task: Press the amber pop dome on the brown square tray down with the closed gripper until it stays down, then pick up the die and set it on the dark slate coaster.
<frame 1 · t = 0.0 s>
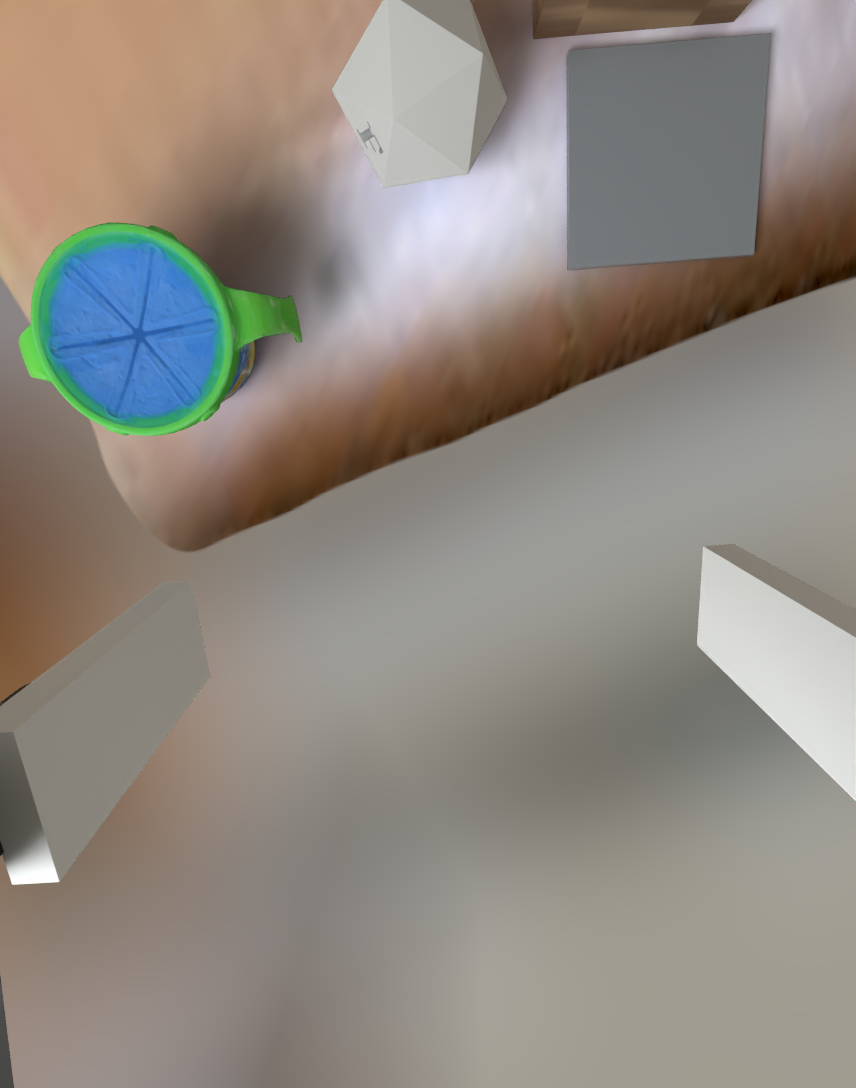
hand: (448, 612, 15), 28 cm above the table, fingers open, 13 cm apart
coaster: (661, 160, 36), on the table
snack cup: (205, 346, 40), on the table
die: (422, 126, 36), on the table
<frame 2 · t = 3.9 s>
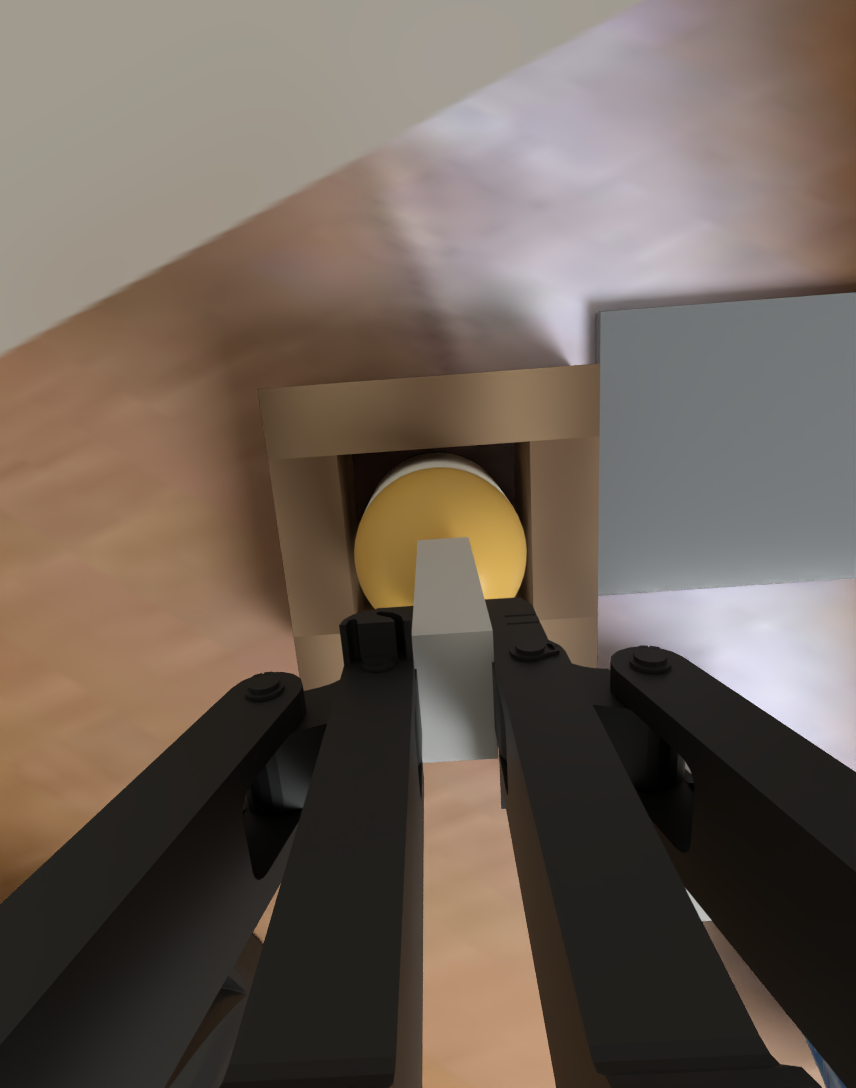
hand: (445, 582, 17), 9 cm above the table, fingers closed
brown square tray: (437, 517, 26), on the table
coaster: (734, 451, 25), on the table
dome: (439, 547, 21), point 5 cm above the table, slide at 1.7 cm
snack cup: (848, 976, 33), on the table
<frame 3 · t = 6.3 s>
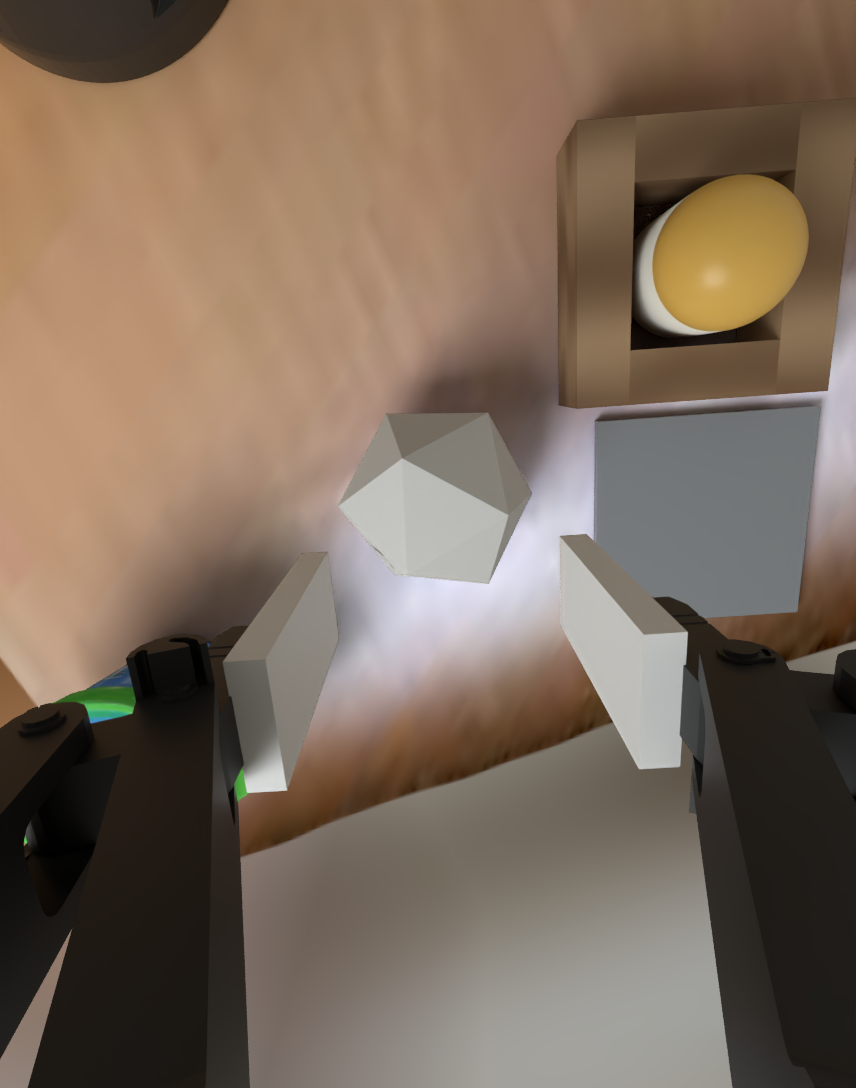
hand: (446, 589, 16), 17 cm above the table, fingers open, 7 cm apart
brown square tray: (673, 278, 30), on the table
coaster: (697, 518, 33), on the table
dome: (717, 260, 25), point 5 cm above the table, slide at 1.8 cm
snack cup: (198, 688, 37), on the table
die: (436, 485, 33), on the table
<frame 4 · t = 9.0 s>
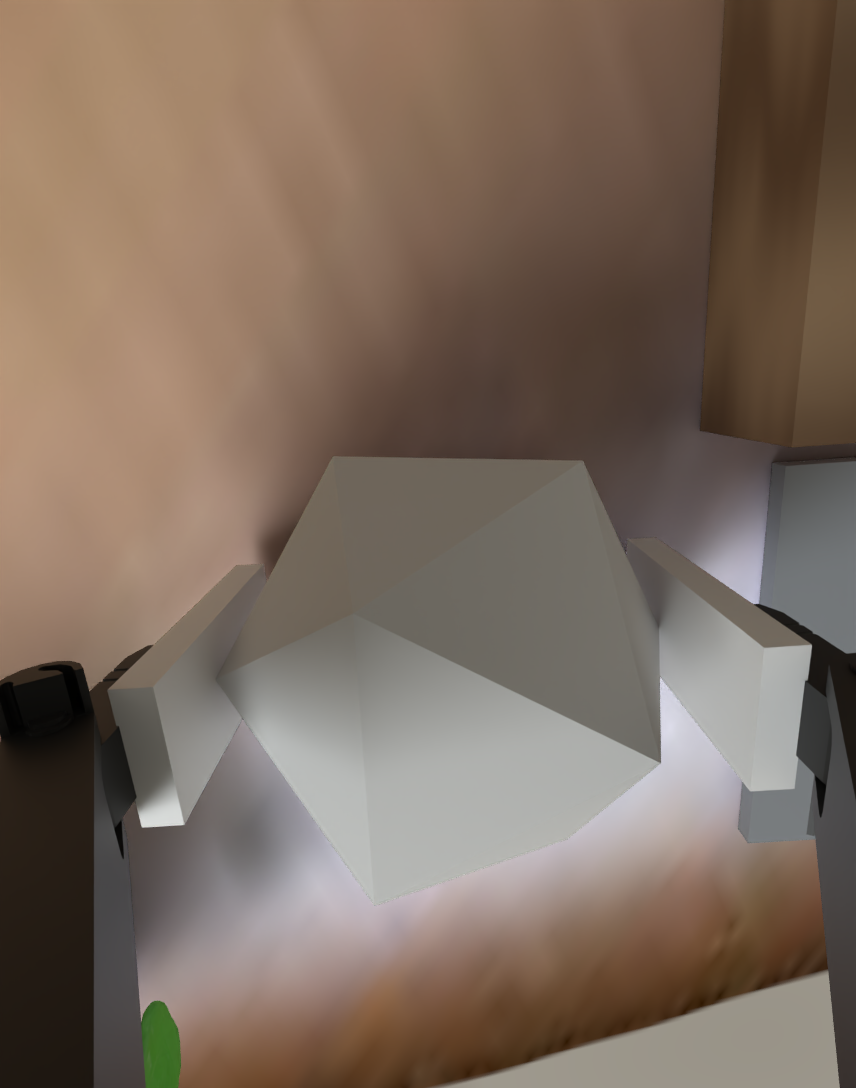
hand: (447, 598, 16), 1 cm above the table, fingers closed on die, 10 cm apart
snack cup: (15, 935, 20), on the table
die: (446, 586, 17), on the table, touching gripper
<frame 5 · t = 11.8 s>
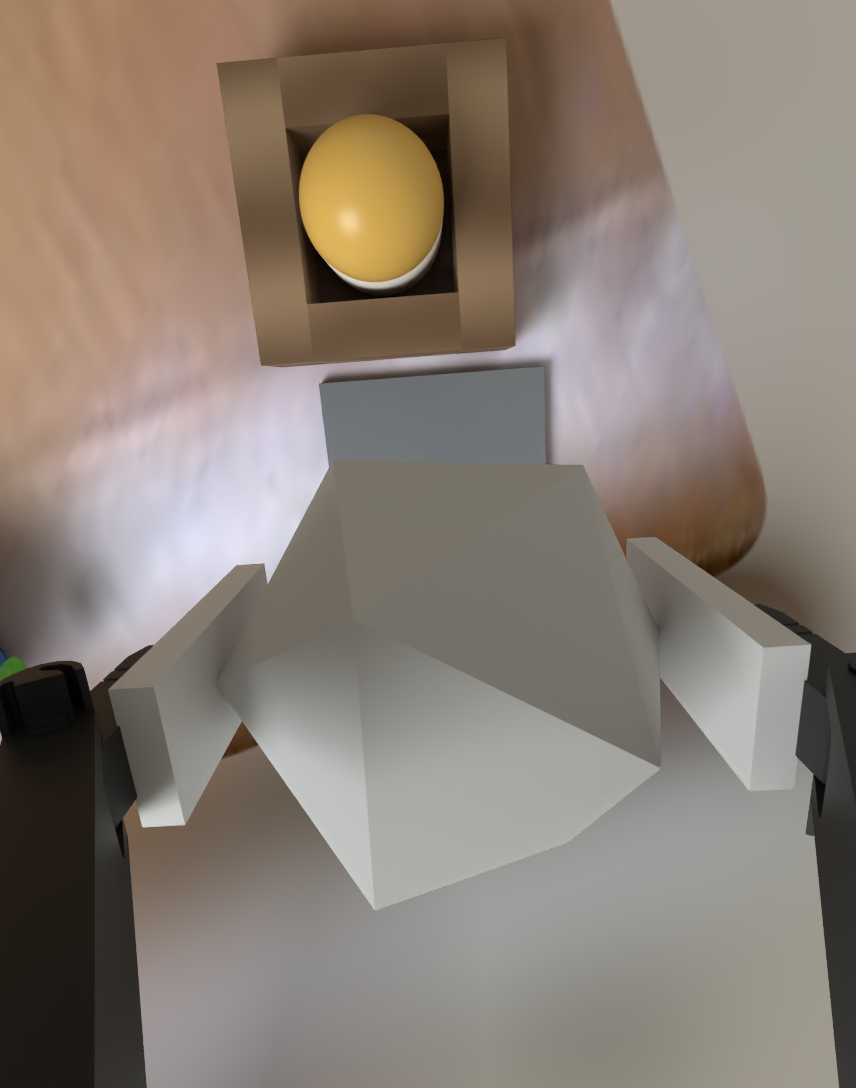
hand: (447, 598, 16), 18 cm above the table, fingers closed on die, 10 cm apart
brown square tray: (382, 234, 29), on the table
coaster: (438, 484, 33), on the table
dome: (373, 208, 25), point 5 cm above the table, slide at 1.8 cm
die: (446, 588, 17), point 17 cm above the table, touching gripper
when the fingers open (3 cm above the table, at t = 15.0 s): die drops 2 cm, resting on coaster.
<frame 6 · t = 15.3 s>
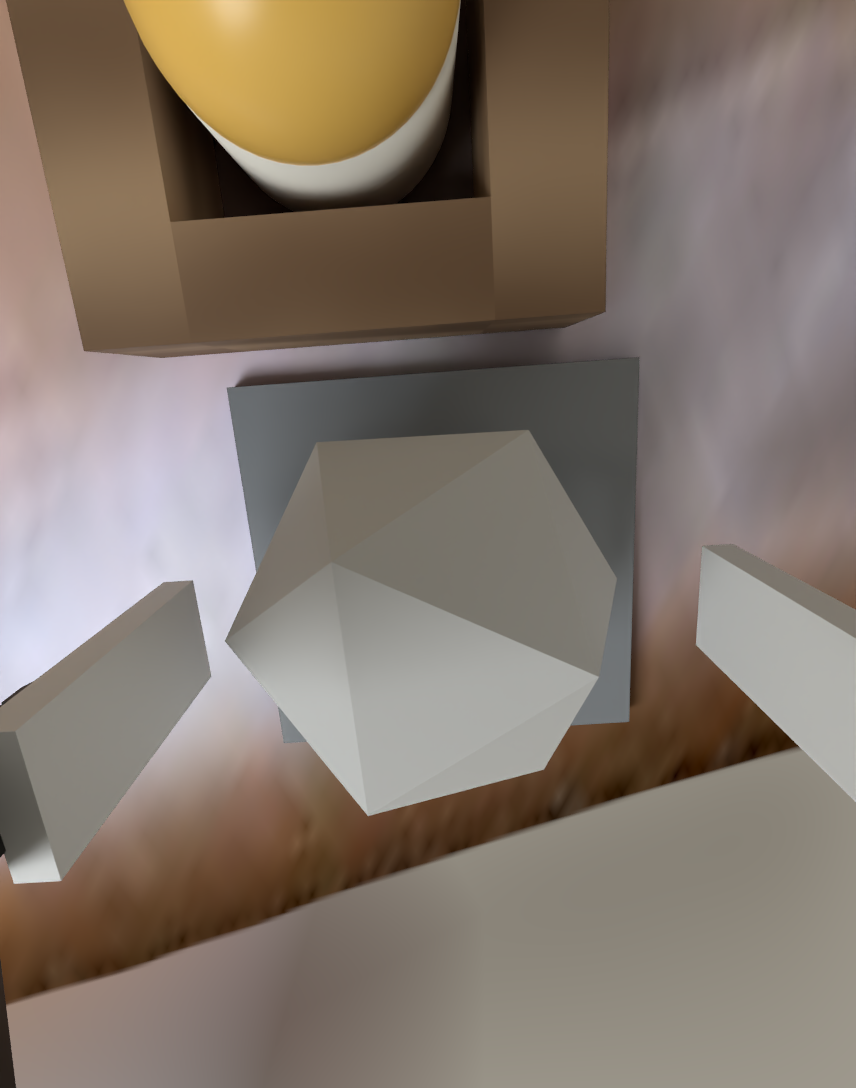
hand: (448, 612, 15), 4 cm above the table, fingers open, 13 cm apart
brown square tray: (338, 106, 15), on the table
coaster: (444, 562, 19), on the table
die: (430, 558, 18), resting on coaster
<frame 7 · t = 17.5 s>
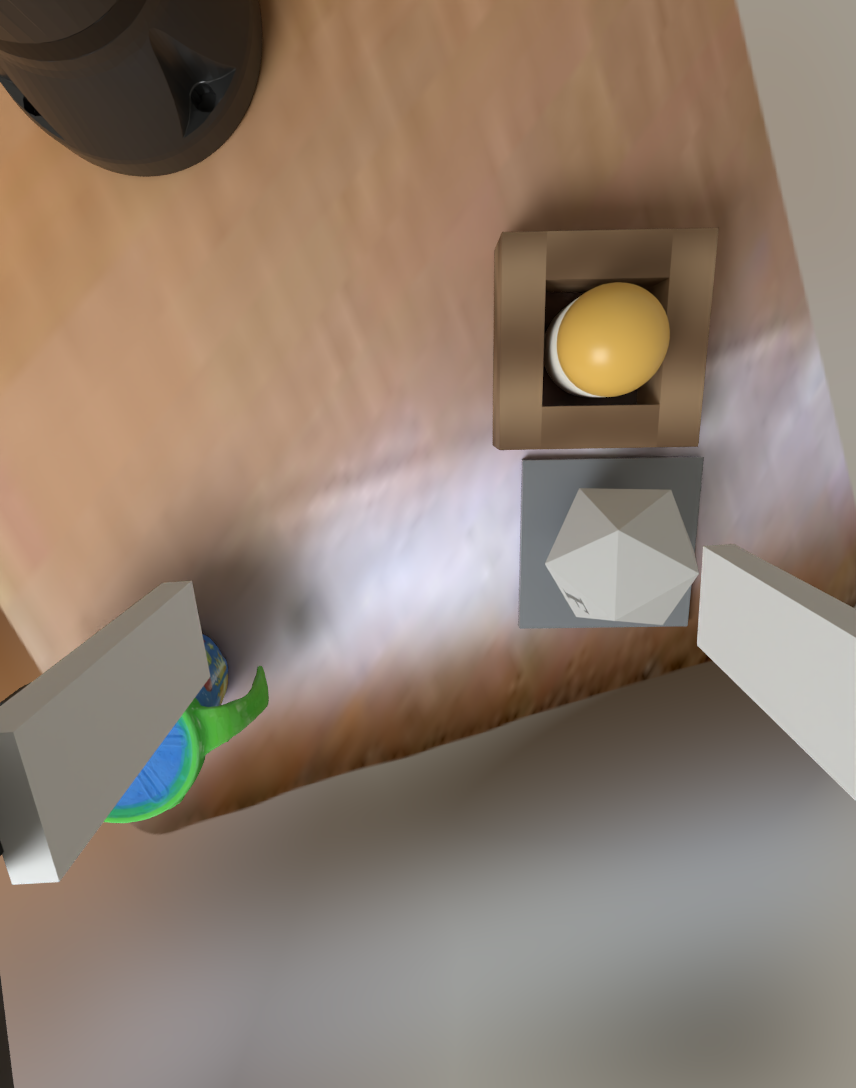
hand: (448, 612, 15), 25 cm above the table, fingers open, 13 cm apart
brown square tray: (586, 349, 37), on the table
coaster: (605, 544, 40), on the table
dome: (607, 342, 33), point 5 cm above the table, slide at 1.8 cm
snack cup: (182, 666, 43), on the table
die: (601, 541, 40), resting on coaster
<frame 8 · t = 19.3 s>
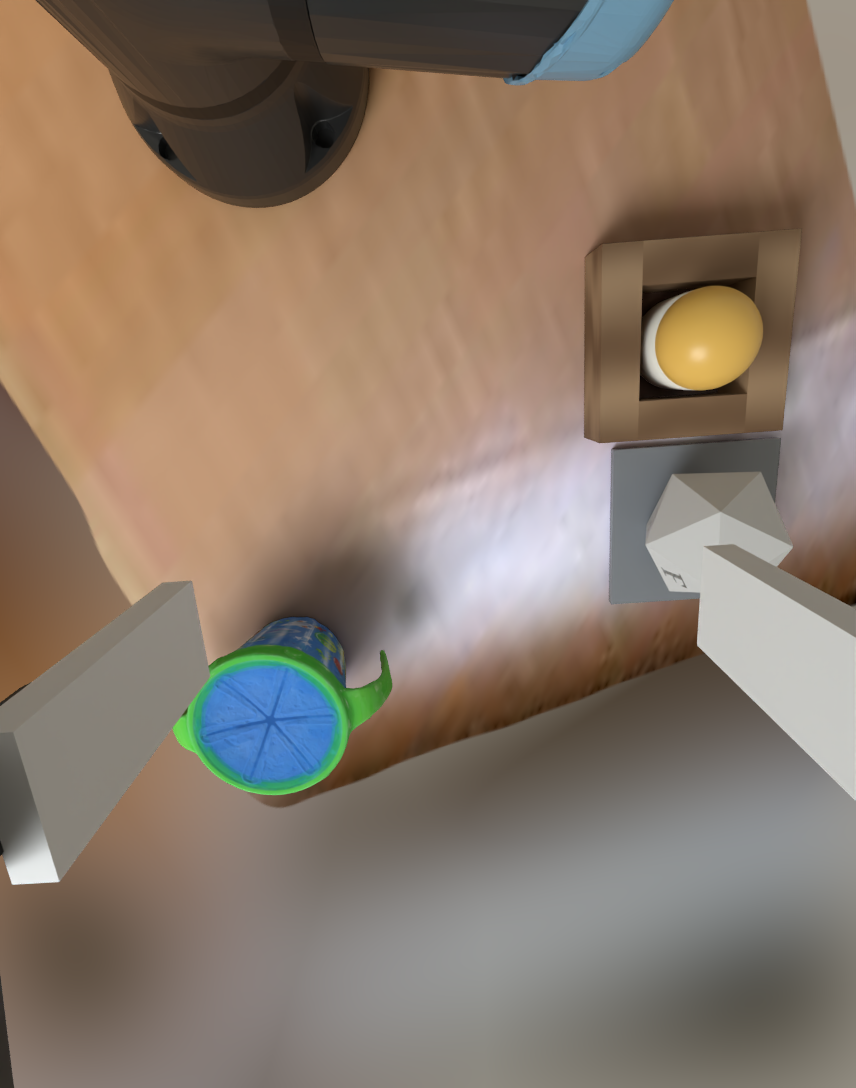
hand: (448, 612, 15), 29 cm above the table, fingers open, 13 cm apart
brown square tray: (670, 344, 40), on the table
coaster: (689, 522, 44), on the table
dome: (701, 340, 36), point 5 cm above the table, slide at 1.8 cm
snack cup: (301, 654, 47), on the table
die: (686, 520, 43), resting on coaster
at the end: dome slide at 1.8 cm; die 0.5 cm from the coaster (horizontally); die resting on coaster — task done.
